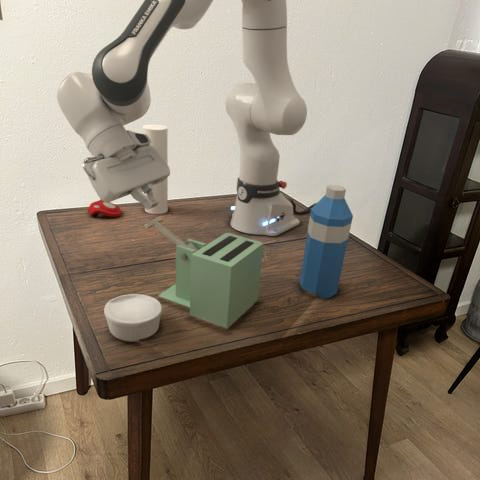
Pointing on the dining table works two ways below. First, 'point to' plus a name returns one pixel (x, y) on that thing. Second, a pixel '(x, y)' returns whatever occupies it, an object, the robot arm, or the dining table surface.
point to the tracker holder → (104, 209)
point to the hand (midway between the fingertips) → (153, 206)
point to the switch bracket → (182, 275)
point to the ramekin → (133, 316)
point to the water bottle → (326, 243)
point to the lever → (168, 233)
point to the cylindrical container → (160, 143)
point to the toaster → (225, 279)
